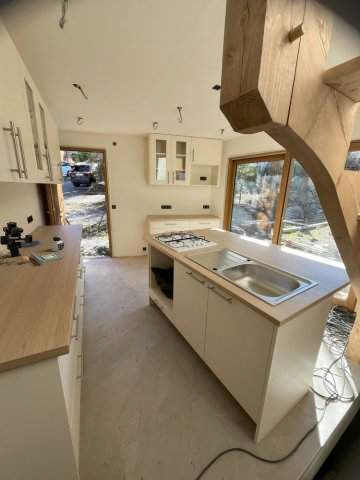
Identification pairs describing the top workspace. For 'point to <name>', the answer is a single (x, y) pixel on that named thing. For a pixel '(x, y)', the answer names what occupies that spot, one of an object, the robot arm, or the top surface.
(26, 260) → the ball
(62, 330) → the top surface
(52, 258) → the resting mat
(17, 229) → the robot arm
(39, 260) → the gray wall
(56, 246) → the medicine bottle
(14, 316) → the top surface
